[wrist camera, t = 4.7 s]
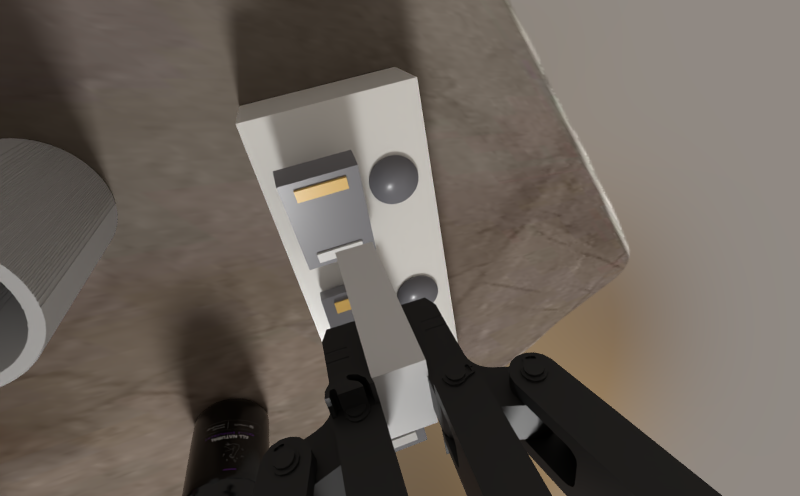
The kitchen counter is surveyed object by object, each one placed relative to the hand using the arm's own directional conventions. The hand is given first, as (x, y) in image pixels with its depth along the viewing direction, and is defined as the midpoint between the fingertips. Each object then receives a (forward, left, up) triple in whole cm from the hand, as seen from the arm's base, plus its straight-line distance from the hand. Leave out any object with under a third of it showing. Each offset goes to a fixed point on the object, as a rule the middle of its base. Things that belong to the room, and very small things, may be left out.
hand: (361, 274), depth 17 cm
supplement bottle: (-15, -24, -17) cm, 33 cm away
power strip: (+2, -12, -17) cm, 21 cm away
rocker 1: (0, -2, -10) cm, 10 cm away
